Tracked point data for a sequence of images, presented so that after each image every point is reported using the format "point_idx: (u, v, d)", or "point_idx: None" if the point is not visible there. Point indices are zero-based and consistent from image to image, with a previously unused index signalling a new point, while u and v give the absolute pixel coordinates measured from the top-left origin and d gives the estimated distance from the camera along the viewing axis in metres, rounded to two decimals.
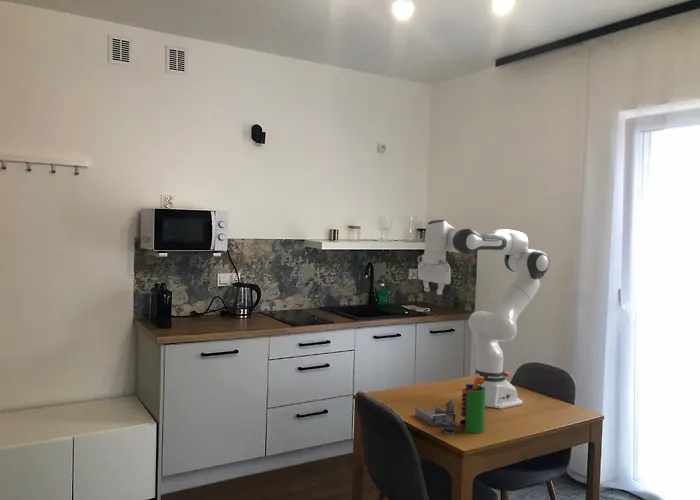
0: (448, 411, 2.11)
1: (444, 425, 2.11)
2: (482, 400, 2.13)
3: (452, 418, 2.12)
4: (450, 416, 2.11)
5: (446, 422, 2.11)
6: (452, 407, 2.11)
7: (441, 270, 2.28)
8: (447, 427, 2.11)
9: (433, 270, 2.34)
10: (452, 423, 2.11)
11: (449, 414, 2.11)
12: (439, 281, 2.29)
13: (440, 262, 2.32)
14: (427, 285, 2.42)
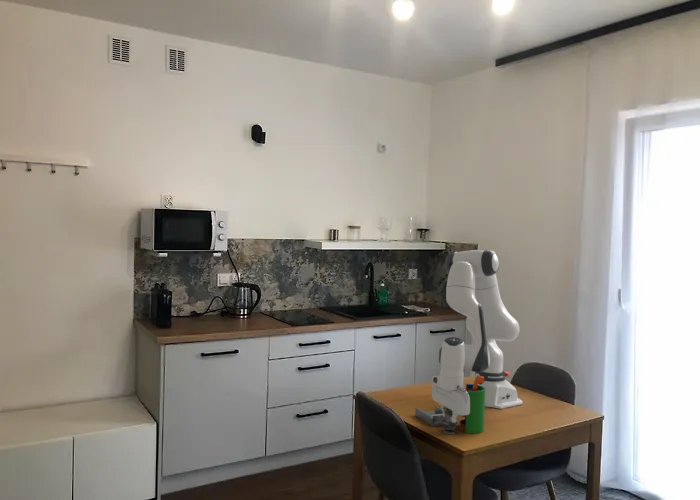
0: (448, 411, 2.11)
1: (444, 425, 2.11)
2: (482, 400, 2.13)
3: None
4: (450, 416, 2.11)
5: (446, 422, 2.11)
6: None
7: (459, 399, 2.04)
8: (447, 427, 2.11)
9: (450, 396, 2.10)
10: (452, 423, 2.11)
11: (449, 414, 2.11)
12: (457, 411, 2.05)
13: (458, 388, 2.07)
14: None
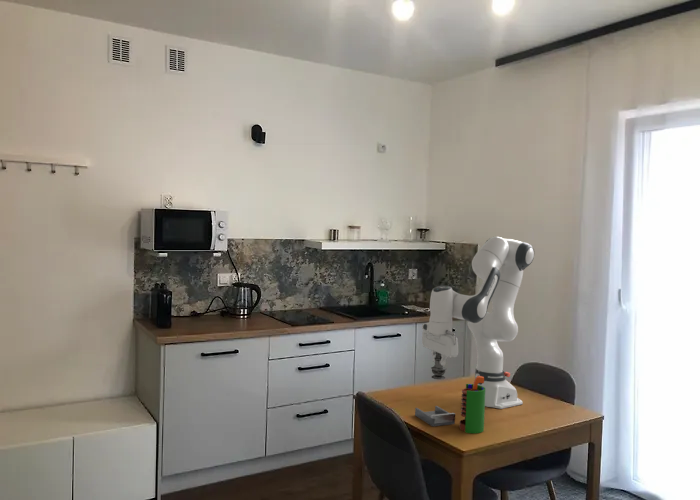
0: (437, 357, 2.22)
1: (434, 371, 2.22)
2: (482, 400, 2.13)
3: None
4: (439, 362, 2.22)
5: (435, 368, 2.22)
6: None
7: (448, 342, 2.15)
8: (436, 372, 2.21)
9: (439, 340, 2.21)
10: (441, 369, 2.21)
11: (438, 360, 2.22)
12: (446, 354, 2.16)
13: (446, 333, 2.18)
14: None
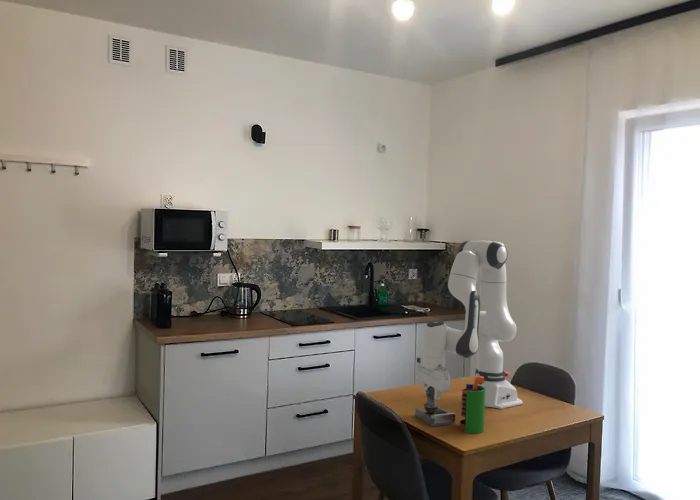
0: (429, 395, 2.27)
1: (426, 408, 2.27)
2: (482, 400, 2.13)
3: (433, 401, 2.27)
4: (431, 399, 2.27)
5: (428, 405, 2.27)
6: (433, 391, 2.27)
7: (440, 377, 2.19)
8: (429, 410, 2.26)
9: (432, 374, 2.25)
10: (433, 406, 2.26)
11: (430, 398, 2.27)
12: (438, 388, 2.20)
13: (439, 367, 2.23)
14: (427, 387, 2.32)
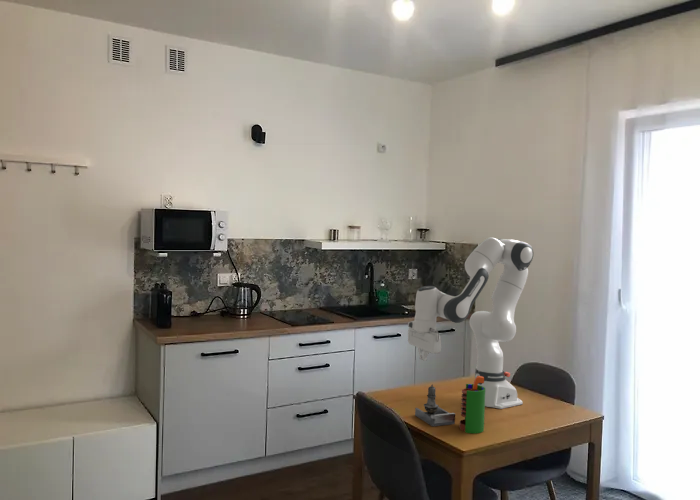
0: (430, 395, 2.27)
1: (426, 408, 2.27)
2: (482, 400, 2.13)
3: (433, 401, 2.27)
4: (432, 399, 2.27)
5: (428, 405, 2.27)
6: (433, 391, 2.27)
7: (431, 339, 2.26)
8: (429, 410, 2.26)
9: (423, 337, 2.32)
10: (433, 406, 2.26)
11: (431, 398, 2.27)
12: (429, 350, 2.27)
13: (430, 330, 2.29)
14: (422, 353, 2.36)
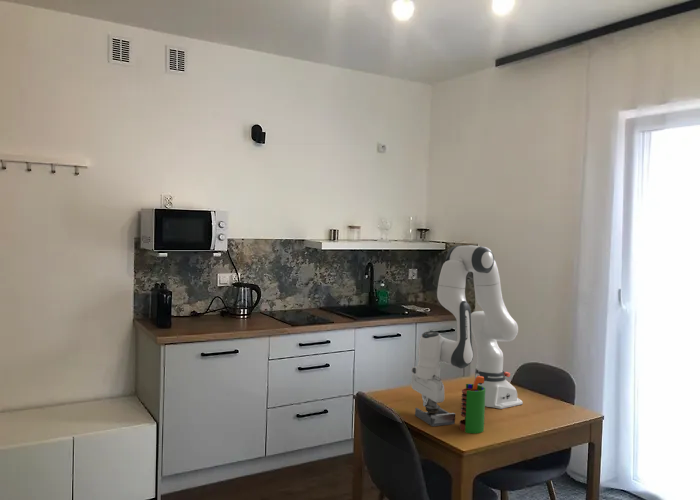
0: None
1: (427, 409, 2.25)
2: (482, 400, 2.13)
3: (435, 402, 2.26)
4: None
5: (429, 406, 2.25)
6: None
7: (434, 388, 2.22)
8: (430, 411, 2.25)
9: (427, 385, 2.28)
10: (435, 407, 2.25)
11: None
12: (432, 398, 2.23)
13: (434, 378, 2.25)
14: (426, 399, 2.32)
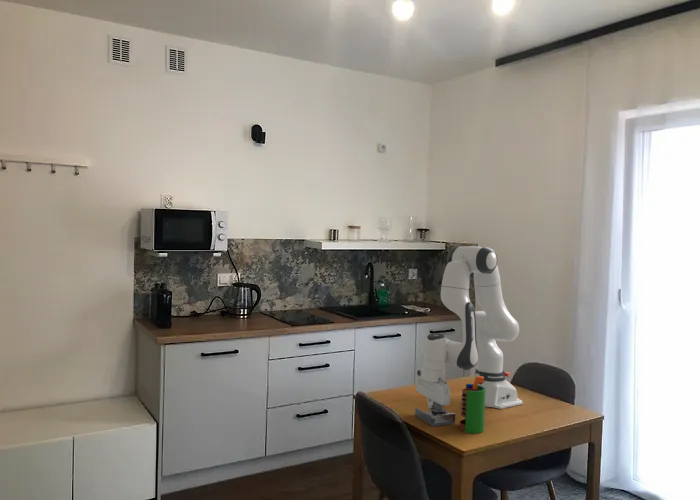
0: None
1: (433, 412, 2.22)
2: (482, 400, 2.13)
3: (441, 405, 2.22)
4: None
5: (435, 409, 2.22)
6: None
7: (440, 391, 2.19)
8: None
9: (432, 387, 2.25)
10: (440, 410, 2.21)
11: None
12: (438, 401, 2.20)
13: (439, 380, 2.22)
14: (431, 402, 2.28)
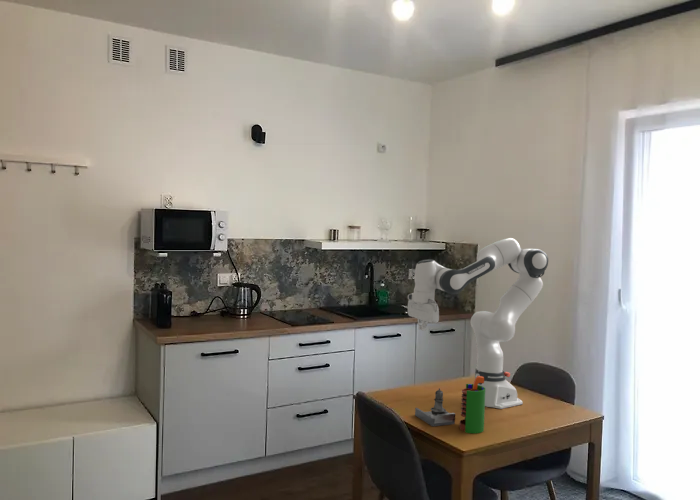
0: (437, 399, 2.22)
1: (433, 412, 2.22)
2: (482, 400, 2.13)
3: (441, 405, 2.22)
4: (439, 403, 2.22)
5: (435, 409, 2.22)
6: (441, 395, 2.22)
7: (429, 309, 2.37)
8: None
9: (422, 308, 2.43)
10: (441, 410, 2.21)
11: (438, 402, 2.22)
12: (428, 320, 2.38)
13: (429, 301, 2.40)
14: (421, 323, 2.47)
